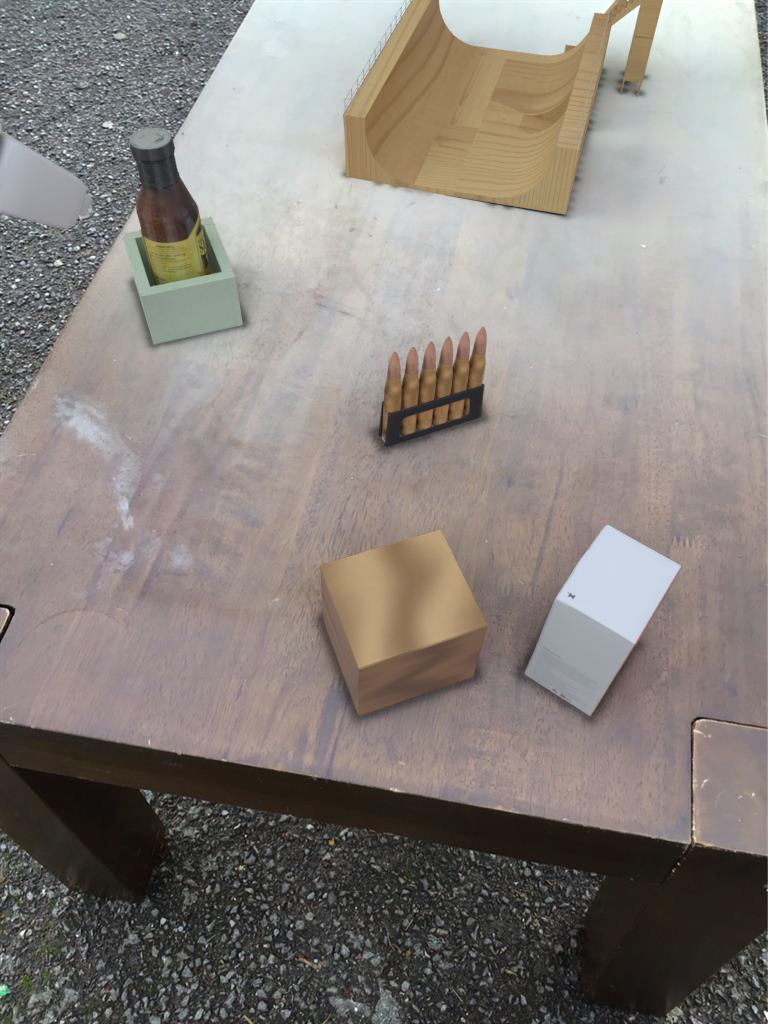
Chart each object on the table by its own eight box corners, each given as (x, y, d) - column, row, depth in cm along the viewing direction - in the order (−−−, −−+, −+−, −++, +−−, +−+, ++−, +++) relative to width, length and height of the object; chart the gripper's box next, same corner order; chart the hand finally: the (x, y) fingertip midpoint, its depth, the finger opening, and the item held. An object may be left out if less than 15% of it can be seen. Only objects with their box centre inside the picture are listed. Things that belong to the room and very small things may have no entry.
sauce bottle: (225, 314, 92) (198, 147, 76) (173, 332, 90) (133, 165, 74) (202, 281, 95) (171, 114, 79) (151, 298, 93) (108, 131, 77)
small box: (590, 719, 65) (635, 646, 55) (521, 675, 67) (552, 597, 57) (634, 645, 69) (684, 564, 59) (567, 606, 71) (604, 521, 61)
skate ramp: (419, 49, 131) (423, -67, 118) (642, 78, 126) (672, -40, 113) (346, 185, 109) (341, 60, 96) (613, 229, 103) (647, 102, 90)
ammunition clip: (472, 407, 85) (487, 318, 75) (480, 419, 84) (497, 330, 74) (378, 437, 82) (381, 348, 72) (385, 450, 81) (389, 362, 71)
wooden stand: (358, 718, 65) (358, 667, 57) (323, 623, 70) (319, 564, 62) (473, 678, 67) (488, 625, 59) (431, 589, 72) (440, 529, 64)
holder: (154, 347, 88) (140, 296, 83) (136, 285, 94) (121, 233, 89) (243, 327, 91) (235, 276, 85) (219, 268, 97) (211, 216, 91)
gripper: (-210, 114, 60) (-46, 176, 73) (-30, 216, 54) (116, 264, 66) (-187, 28, 59) (-24, 106, 72) (1, 122, 52) (144, 190, 65)
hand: (45, 183), depth 69 cm, fingers open, 8 cm apart
